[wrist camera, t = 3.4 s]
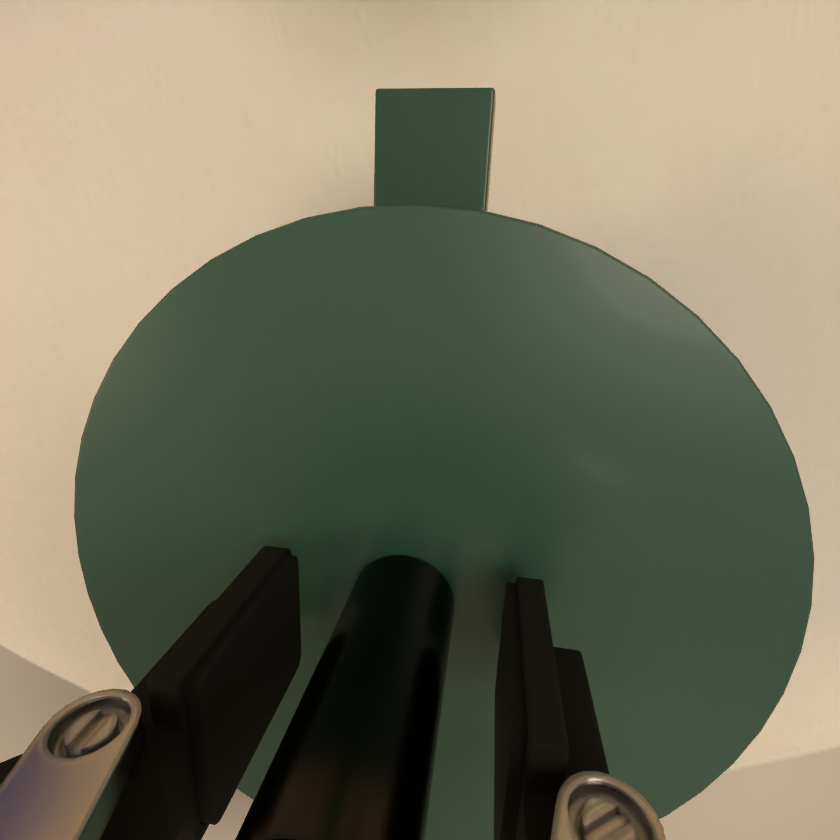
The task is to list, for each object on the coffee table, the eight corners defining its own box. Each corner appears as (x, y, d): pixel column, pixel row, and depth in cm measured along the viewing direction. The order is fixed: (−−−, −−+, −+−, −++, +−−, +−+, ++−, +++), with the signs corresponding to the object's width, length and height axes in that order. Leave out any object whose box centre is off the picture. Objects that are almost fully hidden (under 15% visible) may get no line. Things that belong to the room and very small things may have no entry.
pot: (711, 174, 16) (931, 67, 8) (610, 703, 22) (675, 947, 14) (241, 167, 18) (36, 77, 10) (267, 650, 24) (153, 835, 16)
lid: (887, 223, 9) (2090, 51, 2) (697, 869, 14) (892, 1441, 7) (61, 202, 11) (-604, 84, 4) (147, 764, 16) (-110, 1119, 9)
